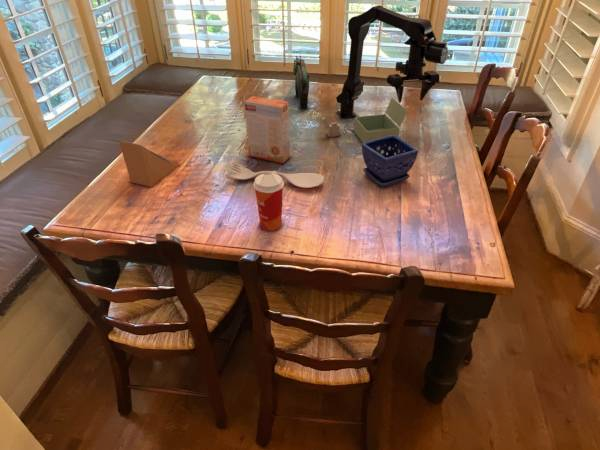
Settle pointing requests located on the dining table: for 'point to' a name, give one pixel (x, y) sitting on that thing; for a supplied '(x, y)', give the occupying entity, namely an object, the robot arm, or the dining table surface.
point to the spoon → (296, 179)
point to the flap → (396, 112)
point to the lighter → (331, 128)
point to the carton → (374, 127)
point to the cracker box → (268, 129)
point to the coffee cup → (269, 200)
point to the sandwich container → (144, 164)
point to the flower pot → (388, 160)
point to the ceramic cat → (301, 82)
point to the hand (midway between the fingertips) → (410, 101)
